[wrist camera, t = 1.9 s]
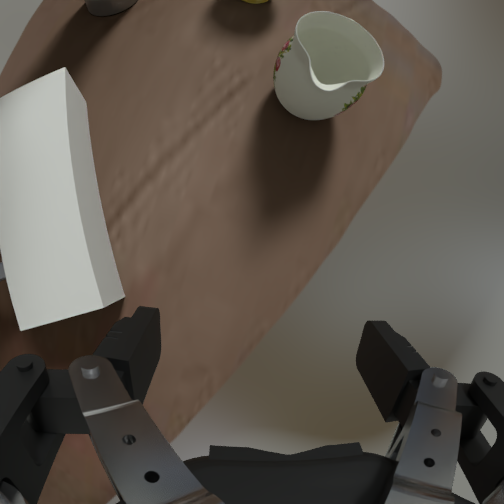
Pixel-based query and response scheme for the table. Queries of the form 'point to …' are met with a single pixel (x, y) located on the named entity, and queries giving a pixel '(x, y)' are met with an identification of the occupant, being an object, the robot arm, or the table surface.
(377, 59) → the pitcher
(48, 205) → the key box
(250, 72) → the table surface
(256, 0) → the plant pot
